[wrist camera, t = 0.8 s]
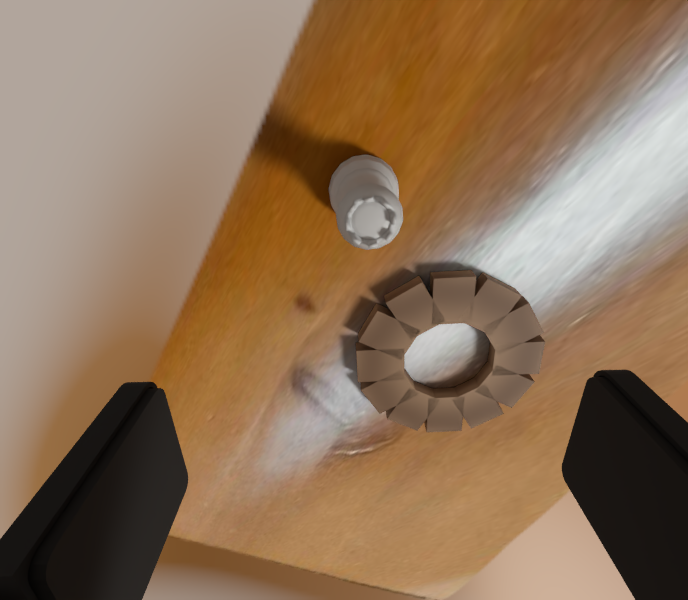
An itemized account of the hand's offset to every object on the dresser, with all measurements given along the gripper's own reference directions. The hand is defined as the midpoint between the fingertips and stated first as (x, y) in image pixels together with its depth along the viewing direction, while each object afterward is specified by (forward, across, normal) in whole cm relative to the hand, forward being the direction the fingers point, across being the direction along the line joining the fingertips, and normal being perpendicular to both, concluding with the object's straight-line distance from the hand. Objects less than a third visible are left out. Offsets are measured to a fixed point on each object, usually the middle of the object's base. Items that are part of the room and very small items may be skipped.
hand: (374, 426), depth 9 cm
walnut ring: (+19, -7, +11) cm, 23 cm away
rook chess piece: (+20, -1, -2) cm, 20 cm away
